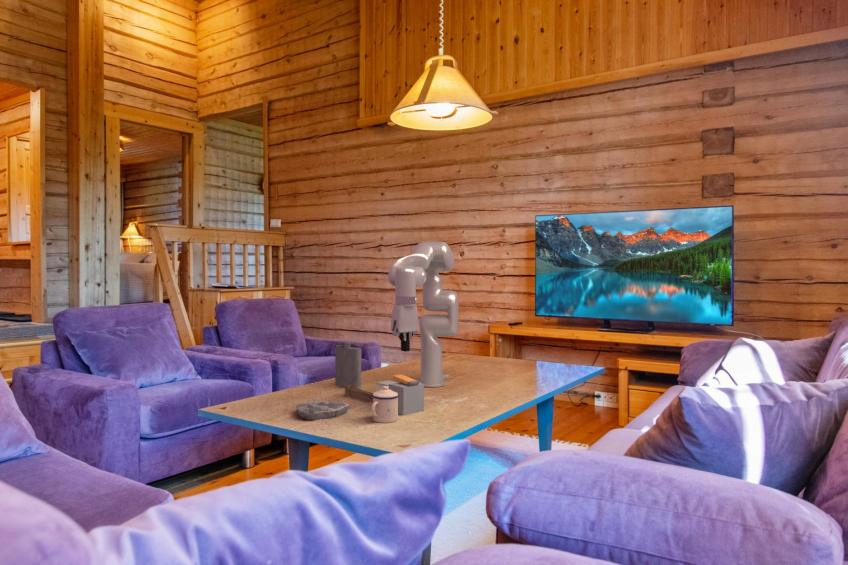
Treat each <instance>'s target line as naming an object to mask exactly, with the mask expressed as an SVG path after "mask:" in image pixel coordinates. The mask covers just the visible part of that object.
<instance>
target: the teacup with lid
mask: <svg viewBox="0 0 848 565" xmlns="http://www.w3.org/2000/svg"><path fill="white" fill-rule="evenodd" d="M372 393H373V395H372V397H373V403H371V404H372V405H371V407H370V408H371V414H372V420H373V421H374V422H375V423H382V424H389V423H394V422H396V421H398V419H399V416H398V415H399V414H398V396H399V395H398V393H397V392H394V391H392V390H390V389H388V386H383V389H381V390H379V391H377V390H376V391H374V392H372Z"/></svg>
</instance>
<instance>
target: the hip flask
mask: <svg viewBox="0 0 848 565" xmlns="http://www.w3.org/2000/svg"><path fill="white" fill-rule="evenodd" d="M351 344H352V341H350V340H349V341H348V340H347V341H346V340H345V341H343V342H342V345H341V344H337V345H334V346H335V347H334V348H335V350H334V351H335V352H334V353H335V355H334V357H335V358H334V361H335V363H334V364H335V365H334V366H335V367H334V368H335V369H334V379H335V380H334V381H335V382H334V385H335V386H337V387H340V388H343V387H344V388H343V389H345V385H349V384H358V389H360V390H362V348H361V347H353V346H352V345H351Z"/></svg>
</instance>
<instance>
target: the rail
mask: <svg viewBox="0 0 848 565" xmlns="http://www.w3.org/2000/svg"><path fill="white" fill-rule="evenodd" d="M373 393H374V392H371V391H367V390H363V389H358V384H349V385H345V388H344V396H345V397H346V398H348V397H349V398H353V399H357V400H360V401H363V400H364V402H368V403H371V404H373V397H372V395H373Z"/></svg>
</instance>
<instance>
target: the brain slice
mask: <svg viewBox="0 0 848 565" xmlns="http://www.w3.org/2000/svg"><path fill="white" fill-rule="evenodd" d="M350 406H351V405H350V404H348V403H345V402H343V401H342V402H341V401H338V400H337V401H332V400H327V401H326V400H321V401H320V400H319V401H318V400H316V401H308V402H306V403H299V404H297V406H295V408H296V411H297V413H298V415H299V416H300V417H301V418H302V419H306V421H320V419H321V420H327V419H332V418H337V416H338V417H339V416H342V415H344V414H346V413H347V412H348V410H349V409H350Z"/></svg>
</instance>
